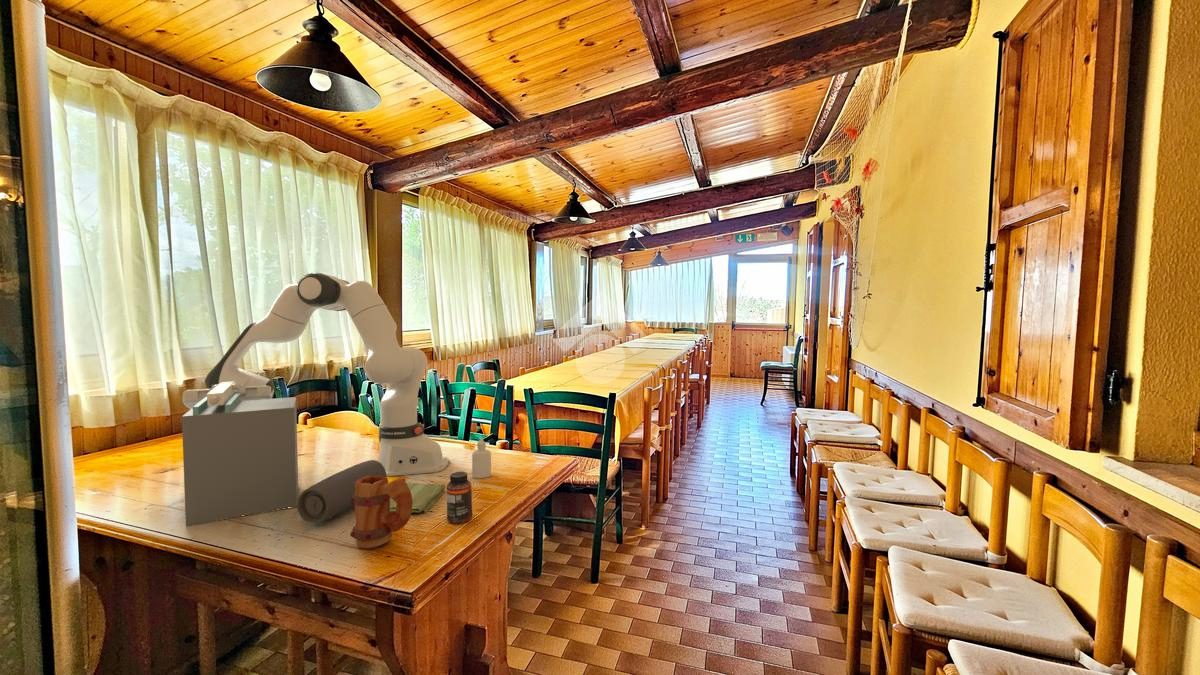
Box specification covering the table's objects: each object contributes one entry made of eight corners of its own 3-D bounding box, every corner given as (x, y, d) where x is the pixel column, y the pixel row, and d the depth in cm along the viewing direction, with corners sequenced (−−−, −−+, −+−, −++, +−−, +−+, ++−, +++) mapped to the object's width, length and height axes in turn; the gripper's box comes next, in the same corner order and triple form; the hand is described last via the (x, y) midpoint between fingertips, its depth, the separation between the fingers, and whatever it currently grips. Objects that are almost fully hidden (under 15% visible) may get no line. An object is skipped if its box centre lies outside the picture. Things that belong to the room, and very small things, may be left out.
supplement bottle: (464, 512, 121) (464, 468, 121) (476, 519, 117) (476, 473, 116) (442, 519, 117) (441, 473, 116) (454, 527, 113) (453, 479, 112)
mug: (341, 548, 102) (340, 478, 102) (372, 532, 110) (370, 467, 109) (395, 560, 97) (393, 487, 96) (423, 543, 105) (422, 475, 104)
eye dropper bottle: (477, 473, 151) (476, 435, 150) (493, 475, 149) (493, 437, 149) (469, 478, 146) (469, 439, 146) (486, 479, 145) (486, 440, 144)
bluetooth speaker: (330, 530, 111) (329, 487, 110) (295, 527, 112) (294, 485, 112) (389, 494, 133) (388, 458, 133) (358, 492, 135) (358, 457, 134)
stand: (201, 500, 128) (197, 396, 127) (298, 485, 139) (295, 390, 138) (185, 526, 113) (181, 407, 111) (296, 507, 124) (293, 399, 123)
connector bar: (222, 392, 138) (221, 382, 138) (235, 391, 140) (234, 381, 140) (205, 408, 112) (204, 395, 112) (222, 406, 114) (221, 394, 113)
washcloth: (372, 516, 119) (372, 504, 119) (404, 491, 137) (404, 479, 137) (424, 517, 119) (424, 504, 119) (449, 491, 136) (449, 480, 136)
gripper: (188, 397, 139) (177, 378, 129) (273, 392, 150) (269, 374, 139) (186, 418, 137) (175, 400, 126) (272, 411, 147) (269, 394, 137)
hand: (225, 386), depth 133 cm, fingers closed on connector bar, 3 cm apart
